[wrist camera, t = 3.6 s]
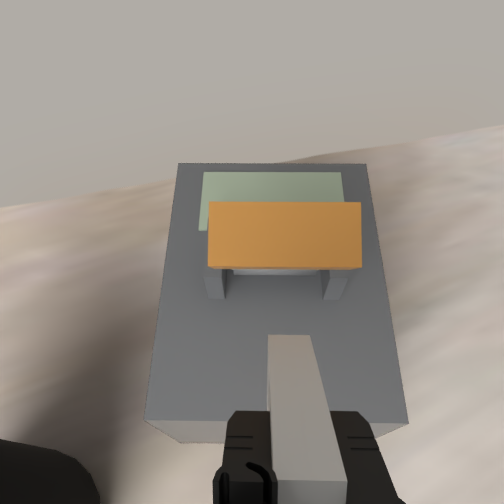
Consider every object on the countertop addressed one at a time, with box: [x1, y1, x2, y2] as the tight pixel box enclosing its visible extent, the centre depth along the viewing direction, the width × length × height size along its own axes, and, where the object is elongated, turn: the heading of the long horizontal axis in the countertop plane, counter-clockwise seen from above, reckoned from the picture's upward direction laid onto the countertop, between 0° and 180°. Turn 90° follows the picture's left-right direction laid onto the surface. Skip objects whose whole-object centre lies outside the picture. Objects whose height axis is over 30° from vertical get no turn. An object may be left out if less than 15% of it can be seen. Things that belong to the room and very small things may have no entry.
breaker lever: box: [208, 201, 362, 276], centre depth 20 cm, size 6×2×11 cm, turn 89°
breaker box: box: [144, 163, 409, 443], centre depth 30 cm, size 14×18×15 cm
